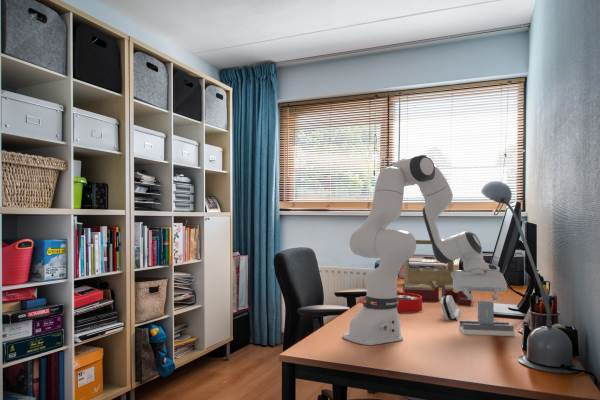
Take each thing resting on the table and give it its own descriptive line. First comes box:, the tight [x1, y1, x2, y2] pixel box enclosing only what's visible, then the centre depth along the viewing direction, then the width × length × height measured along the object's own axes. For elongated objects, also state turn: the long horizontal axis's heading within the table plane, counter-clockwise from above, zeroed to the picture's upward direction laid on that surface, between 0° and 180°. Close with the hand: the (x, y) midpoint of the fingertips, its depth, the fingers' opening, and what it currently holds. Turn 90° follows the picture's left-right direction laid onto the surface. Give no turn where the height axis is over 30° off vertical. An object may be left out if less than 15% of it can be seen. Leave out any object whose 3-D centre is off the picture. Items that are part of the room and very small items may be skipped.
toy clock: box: [397, 291, 423, 313], centre depth 211 cm, size 20×6×20 cm
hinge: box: [440, 295, 462, 322], centre depth 194 cm, size 17×5×10 cm, turn 155°
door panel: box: [477, 300, 495, 324], centre depth 167 cm, size 5×3×10 cm, turn 84°
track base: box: [458, 319, 516, 337], centre depth 167 cm, size 18×8×4 cm, turn 84°
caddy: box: [403, 239, 455, 287], centre depth 281 cm, size 29×11×30 cm, turn 87°
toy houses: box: [397, 281, 473, 306], centre depth 229 cm, size 45×20×10 cm, turn 85°
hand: (483, 299), depth 171 cm, fingers open, 8 cm apart
